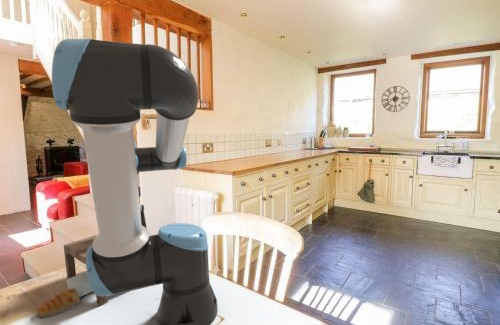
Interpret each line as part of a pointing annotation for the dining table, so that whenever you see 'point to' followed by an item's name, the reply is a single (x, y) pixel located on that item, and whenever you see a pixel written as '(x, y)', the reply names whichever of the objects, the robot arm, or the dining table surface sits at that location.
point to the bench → (79, 252)
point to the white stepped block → (79, 284)
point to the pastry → (59, 303)
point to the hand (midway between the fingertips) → (133, 250)
